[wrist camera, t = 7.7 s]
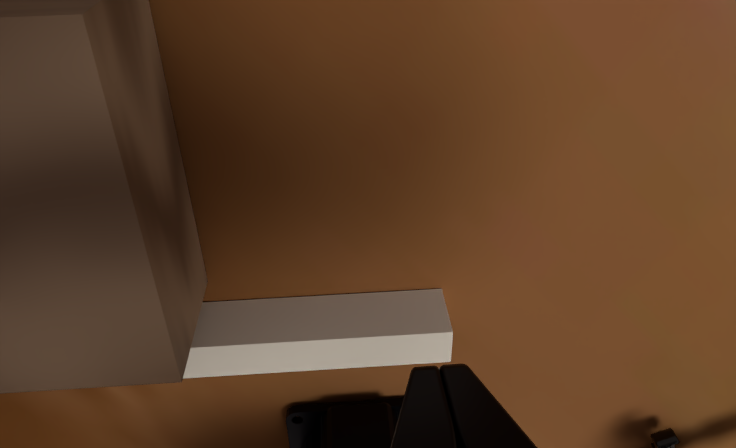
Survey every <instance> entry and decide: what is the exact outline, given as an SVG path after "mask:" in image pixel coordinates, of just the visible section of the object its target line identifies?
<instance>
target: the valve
mask: <svg viewBox="0 0 736 448" xmlns="http://www.w3.org/2000/svg"><path fill="white" fill-rule="evenodd" d="M651 439H652V441H653V443H651V446H652V448H675V444H678V443H679V440H678V438H677V436H676V435H675V433H674V431H673V430H672V429H671V428H668V429H665V430H662V431H659V432H656V433H653V434H651Z"/></svg>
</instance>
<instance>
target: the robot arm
mask: <svg viewBox="0 0 736 448" xmlns="http://www.w3.org/2000/svg"><path fill="white" fill-rule="evenodd" d="M296 416H299V417H296ZM286 424H287V430H288V437H289V444H290V448H537V447H536V446H535V444H534V443H533V442H532V441H531V440H530V439H529V437H528V436H527V435H526V434H525V433H524V431H523V430H522V429H521V428H520V427H519V426H518V424H517V423H516V422H515V421H514V420H513V419H512V417H511V416H510V415H509V414H508V413H507V411H506V410H505V409H504V408H503V407H502V406H501V404H500V403H499V402H498V401H497V400H496V399H495V397H494V396H493V395H492V394H491V393H490V391H489V390H488V389H487V388H486V387H485V386H484V384H483V383H482V382H481V381H480V380H479V379H478V377H477V376H476V375H475V374H474V373H473V372H472V370H471V369H470V368H469V367H468V366H467V365H465V364H450V365H442V366H441V367H440V368H438V367H437V366H423V367H414V368H413V369H412V370H411V373H410V377H409V381H408V384H407V388H406V392H405V396H404V398H403V399H387V400H372V401H356V402H341V403H325V404H310V405H296V406H292V407H290V408H289V409H288V410H287V415H286Z"/></svg>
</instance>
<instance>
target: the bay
mask: <svg viewBox="0 0 736 448" xmlns="http://www.w3.org/2000/svg"><path fill="white" fill-rule="evenodd" d="M452 338H453V331H452V327H451V323H450V319H449V315H448V311H447V307H446V303H445V300H444V296H443V292H442V289H427V290H410V291H392V292H375V293H357V294H340V295H323V296H305V297H288V298H270V299H253V300H236V301H218V302H202V306H201V310H200V314H199V317H198V321H197V325H196V329H195V333H194V337H193V341H192V345H191V348H190V352H189V356H188V360H187V364H186V368H185V372H184V376H183V378H197V377H214V376H230V375H246V374H262V373H278V372H294V371H310V370H326V369H342V368H358V367H374V366H391V365H407V364H423V363H439V362H451V352H452Z"/></svg>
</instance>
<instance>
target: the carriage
mask: <svg viewBox="0 0 736 448" xmlns="http://www.w3.org/2000/svg"><path fill="white" fill-rule="evenodd" d="M207 282H208V280H207V275H206V270H205V266H204V261H203V256H202V251H201V247H200V242H199V237H198V232H197V228H196V223H195V218H194V213H193V209H192V204H191V199H190V194H189V190H188V185H187V180H186V175H185V171H184V166H183V161H182V156H181V152H180V147H179V142H178V137H177V133H176V128H175V123H174V118H173V114H172V109H171V104H170V99H169V95H168V90H167V85H166V80H165V76H164V71H163V66H162V62H161V57H160V52H159V47H158V43H157V38H156V33H155V28H154V24H153V19H152V14H151V9H150V5H149V0H0V393H15V392H31V391H47V390H63V389H79V388H96V387H112V386H128V385H144V384H160V383H176V382H182V380H183V376H184V372H185V368H186V364H187V360H188V356H189V352H190V348H191V345H192V341H193V337H194V333H195V329H196V325H197V321H198V317H199V314H200V310H201V306H202V302H203V298H204V294H205V290H206V286H207Z"/></svg>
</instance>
